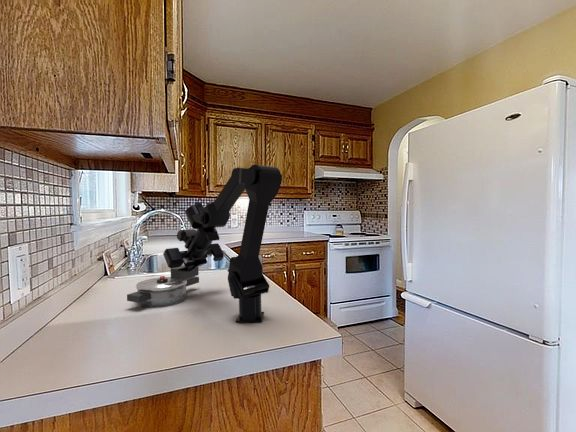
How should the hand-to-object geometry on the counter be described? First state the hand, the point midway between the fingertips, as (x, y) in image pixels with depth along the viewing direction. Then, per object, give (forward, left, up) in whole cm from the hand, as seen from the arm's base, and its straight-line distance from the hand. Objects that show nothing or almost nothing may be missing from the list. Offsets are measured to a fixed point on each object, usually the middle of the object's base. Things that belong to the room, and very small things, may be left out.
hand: (187, 270), depth 103 cm
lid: (-4, +4, -3) cm, 6 cm away
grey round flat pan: (-5, +4, -8) cm, 10 cm away
